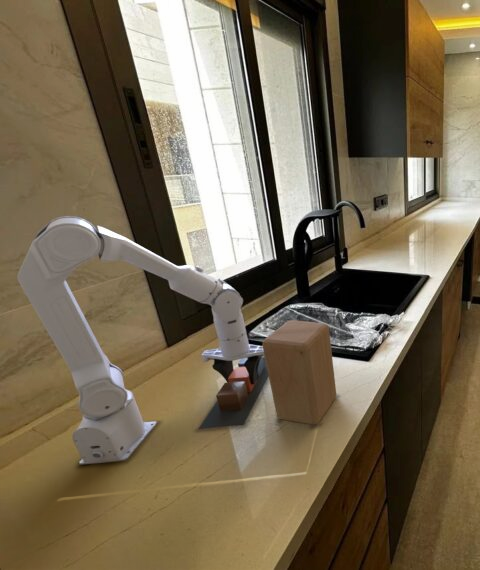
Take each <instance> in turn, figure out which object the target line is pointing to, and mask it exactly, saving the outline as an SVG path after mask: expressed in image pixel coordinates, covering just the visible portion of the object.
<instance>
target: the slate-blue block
mask: <svg viewBox="0 0 480 570" xmlns="http://www.w3.org/2000/svg"><path fill="white" fill-rule="evenodd" d="M247 359H248V358H243V359H239V362H238V363H237V367H245V366H244V363H245V362H246V360H247ZM264 367H265V366H264V361H263V357H261V359H260V362H259V366H258V372H257V377H259V376H260V375H261V373H262V371H263V369H264Z"/></svg>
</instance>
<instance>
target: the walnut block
mask: <svg viewBox="0 0 480 570" xmlns="http://www.w3.org/2000/svg"><path fill="white" fill-rule="evenodd" d="M215 397H216V402H217V401H218V404H219V408H220V411H230V410H241V409H242V407H243V405H244V404H245V402H246V400H247V398H248V393H247V388H246V384H245V381H243V382H229V383H227V382H224V383H223V385H222V386H221V388H220V389H219V390H218V392H217V394H216V395H215Z"/></svg>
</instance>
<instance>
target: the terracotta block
mask: <svg viewBox="0 0 480 570" xmlns="http://www.w3.org/2000/svg"><path fill="white" fill-rule="evenodd" d="M233 369H234V370H233V372H232V373H231V375H230V376H229V377H228V382H243V381H245V384H246V388H247V392H251V391H252V389H253V387H254V385H255V384H251V382H250V378H249V374H248V371H247V369H246V368H245V367H238V366H237V367H234V368H233ZM256 382H257V381H256Z"/></svg>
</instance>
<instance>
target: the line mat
mask: <svg viewBox="0 0 480 570" xmlns="http://www.w3.org/2000/svg"><path fill="white" fill-rule="evenodd" d="M263 361H264V366H265V367H264V369H263V371H262V373H261V375H260V376H259V377H257V382H256V383H255V385H254V387H253V389H252V391H251V392H247V393H248V398H247V400H246V402H245V404H244V405H243V407H242V409H241V410H230V411H220V408H219V404H218V401H217V400H216V402H215V404H214V405H213V406H212V407H211V409H210V410H209V412H208V414H207V415H206V417H205V418H204V420H203V421H202V423H201V424H200V426H199V427H198V430H203V429H213V428H226V427H238V426H244V425H245V424H246V422H247V420H248V418H249V416H250V414H251V412H252V410H253V408H254V406H255V405H256V402H257V400H258V398H259V396H260V395H261V392H262V390H263V389H264V387H265V385H266V383H267V381H268V380H269V375H268V370H267V365H266V361H265V358H264V357H263Z"/></svg>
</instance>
